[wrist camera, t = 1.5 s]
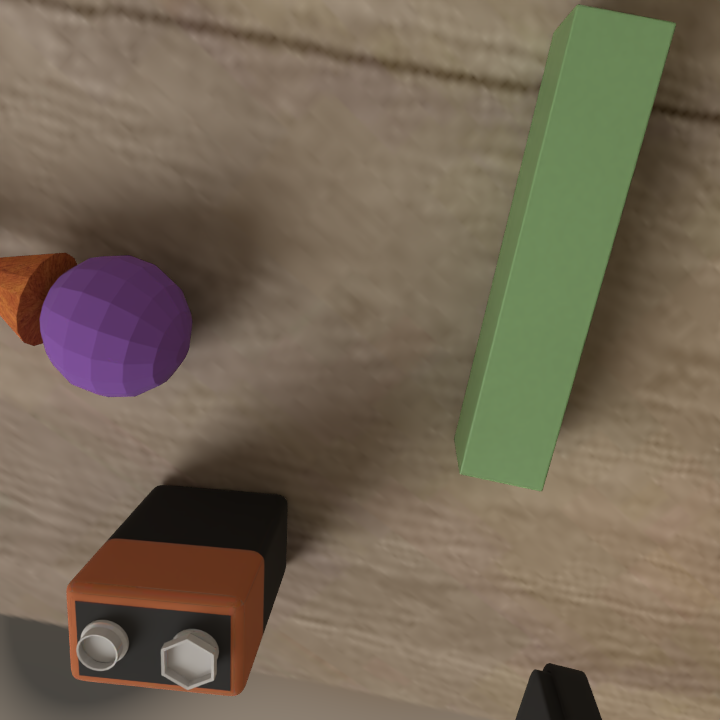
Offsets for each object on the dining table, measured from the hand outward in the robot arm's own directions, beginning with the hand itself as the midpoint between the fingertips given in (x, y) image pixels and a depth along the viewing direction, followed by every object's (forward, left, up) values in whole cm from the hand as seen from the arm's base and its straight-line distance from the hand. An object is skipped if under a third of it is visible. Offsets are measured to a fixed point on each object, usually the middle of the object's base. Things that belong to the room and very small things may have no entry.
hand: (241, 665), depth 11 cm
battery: (+10, -5, -21) cm, 24 cm away
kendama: (-1, -17, -21) cm, 27 cm away
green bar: (-6, +7, -21) cm, 23 cm away
